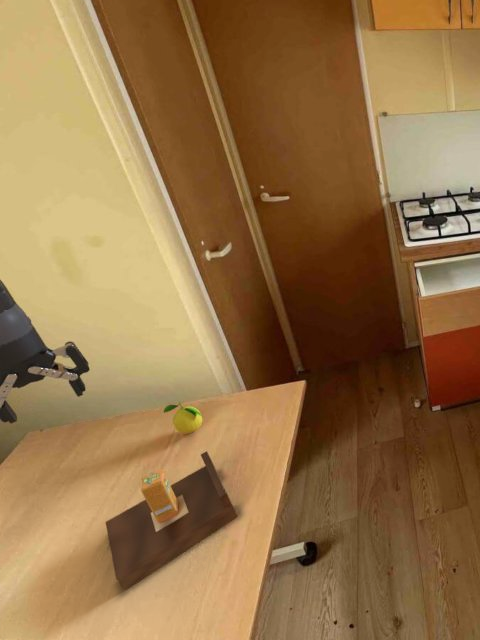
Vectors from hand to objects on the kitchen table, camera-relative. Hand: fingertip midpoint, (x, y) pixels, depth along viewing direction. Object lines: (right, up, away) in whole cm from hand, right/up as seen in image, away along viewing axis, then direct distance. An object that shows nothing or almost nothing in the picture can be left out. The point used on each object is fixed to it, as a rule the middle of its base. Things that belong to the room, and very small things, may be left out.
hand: (48, 406), depth 76 cm
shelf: (+16, -27, +9) cm, 33 cm away
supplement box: (+16, -24, +7) cm, 30 cm away
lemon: (+4, -17, +29) cm, 34 cm away
